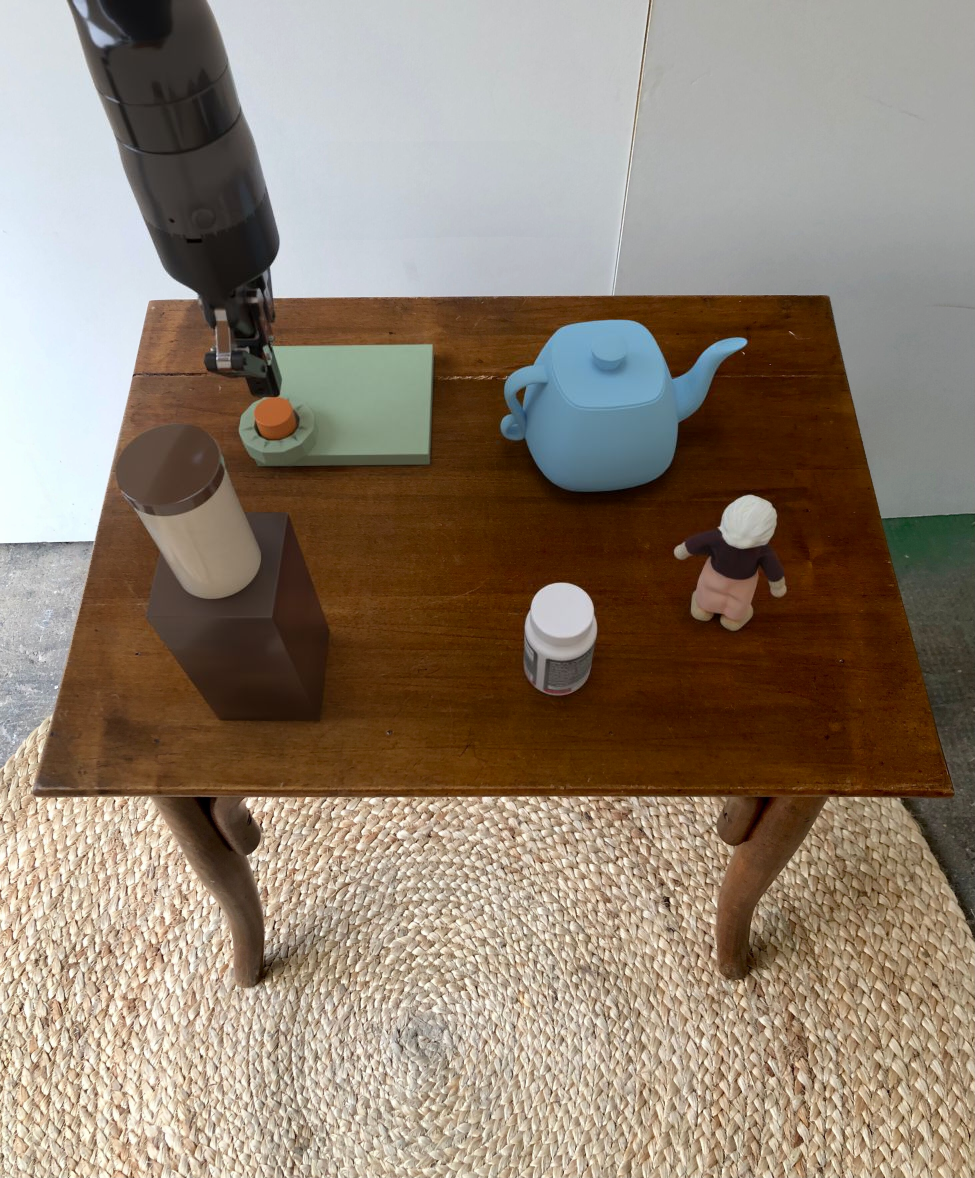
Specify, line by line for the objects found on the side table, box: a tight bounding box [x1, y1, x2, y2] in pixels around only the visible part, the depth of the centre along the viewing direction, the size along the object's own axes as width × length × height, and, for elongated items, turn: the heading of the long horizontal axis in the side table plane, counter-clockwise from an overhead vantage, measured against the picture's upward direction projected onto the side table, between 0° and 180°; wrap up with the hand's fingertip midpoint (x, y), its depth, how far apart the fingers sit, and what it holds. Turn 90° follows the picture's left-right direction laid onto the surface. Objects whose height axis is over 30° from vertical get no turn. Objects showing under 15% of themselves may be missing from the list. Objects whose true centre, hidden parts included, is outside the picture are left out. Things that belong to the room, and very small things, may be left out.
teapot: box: [499, 319, 748, 493], centre depth 69 cm, size 13×11×18 cm
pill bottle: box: [523, 582, 598, 696], centre depth 60 cm, size 5×5×8 cm
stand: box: [144, 511, 331, 722], centre depth 57 cm, size 7×7×15 cm
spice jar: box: [114, 422, 261, 599], centre depth 47 cm, size 5×5×9 cm
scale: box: [238, 343, 435, 467], centre depth 75 cm, size 15×13×3 cm
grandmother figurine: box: [673, 494, 787, 632], centre depth 61 cm, size 8×4×13 cm, turn 77°
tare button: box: [254, 397, 296, 440], centre depth 71 cm, size 3×3×2 cm
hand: (267, 390), depth 68 cm, fingers closed
